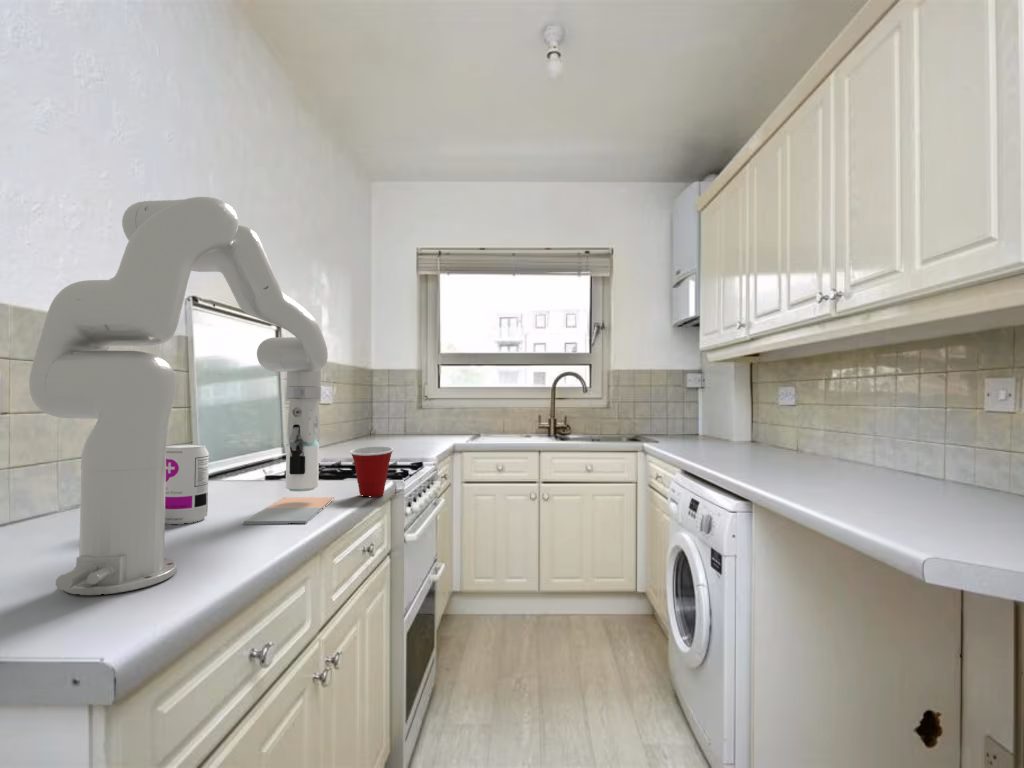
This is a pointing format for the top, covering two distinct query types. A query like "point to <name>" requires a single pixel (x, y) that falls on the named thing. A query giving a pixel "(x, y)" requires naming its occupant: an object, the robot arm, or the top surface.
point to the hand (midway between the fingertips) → (302, 471)
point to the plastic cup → (371, 469)
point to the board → (290, 510)
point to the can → (311, 469)
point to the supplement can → (186, 483)
